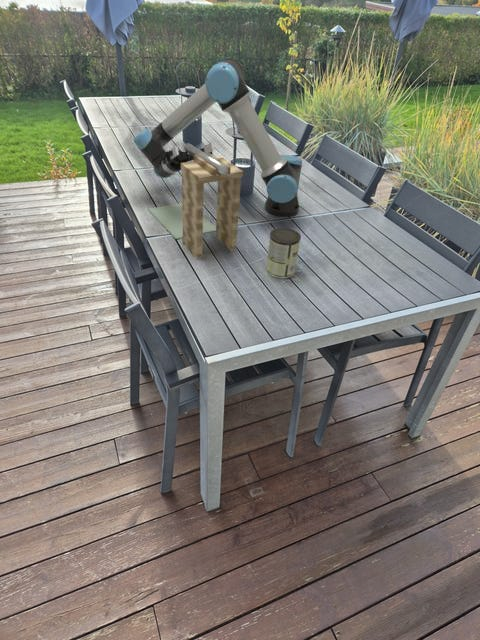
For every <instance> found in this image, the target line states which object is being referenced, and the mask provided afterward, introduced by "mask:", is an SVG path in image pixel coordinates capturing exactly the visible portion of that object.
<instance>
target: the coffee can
mask: <svg viewBox="0 0 480 640" xmlns="http://www.w3.org/2000/svg"><path fill="white" fill-rule="evenodd" d="M301 237H302V235H301V233H299V232H298V231H297V230H295V229H291V228H289V227H278V228H277V227H276V228H274V229H271V231H270V232H269V241H268V251H267V260H266V267H265V271H266V273H267V274H268V275H269V276H271V277H273V278H277V279H289V278H292V277H293V276H295V273H296V267H297V260H298V255H299V248H300V243H301Z"/></svg>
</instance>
